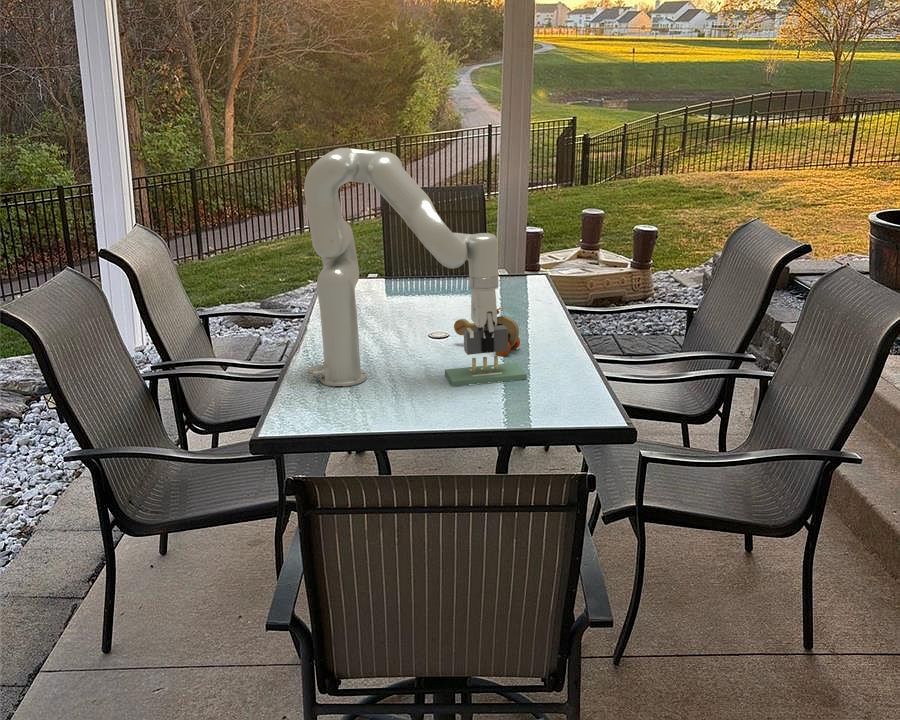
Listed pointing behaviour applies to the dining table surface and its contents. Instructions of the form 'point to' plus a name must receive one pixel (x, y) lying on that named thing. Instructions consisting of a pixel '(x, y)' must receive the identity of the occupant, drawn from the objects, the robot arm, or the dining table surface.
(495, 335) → the block
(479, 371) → the header board
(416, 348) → the dining table surface
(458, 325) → the toy helicopter
